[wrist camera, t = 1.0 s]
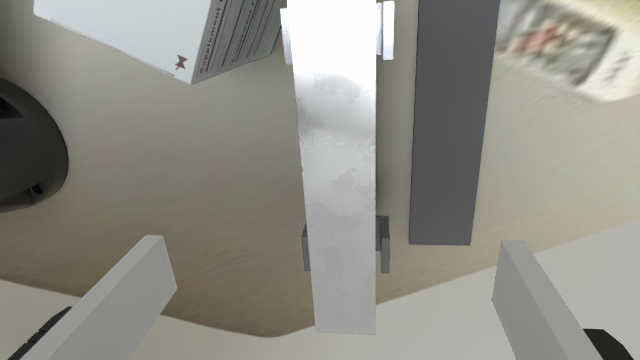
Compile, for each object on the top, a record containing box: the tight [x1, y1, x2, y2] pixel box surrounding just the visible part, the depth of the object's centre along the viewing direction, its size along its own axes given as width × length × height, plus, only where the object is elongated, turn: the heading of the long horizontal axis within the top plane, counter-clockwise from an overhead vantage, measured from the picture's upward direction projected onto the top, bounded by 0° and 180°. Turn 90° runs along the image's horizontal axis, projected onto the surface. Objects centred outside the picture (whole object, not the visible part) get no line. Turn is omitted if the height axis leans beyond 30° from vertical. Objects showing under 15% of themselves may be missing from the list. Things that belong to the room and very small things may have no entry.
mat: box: [409, 0, 500, 246], centre depth 35 cm, size 6×27×1 cm, turn 3°
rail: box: [287, 0, 375, 335], centre depth 26 cm, size 4×26×6 cm, turn 4°
